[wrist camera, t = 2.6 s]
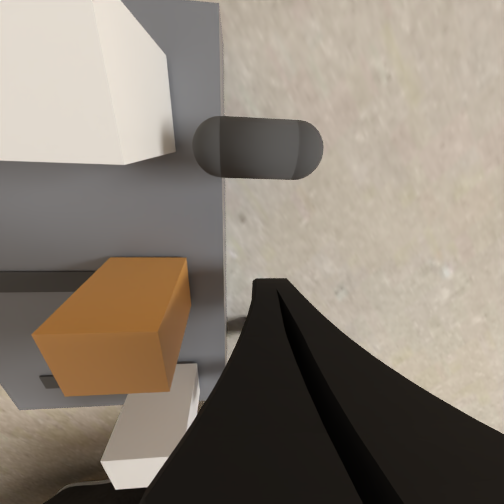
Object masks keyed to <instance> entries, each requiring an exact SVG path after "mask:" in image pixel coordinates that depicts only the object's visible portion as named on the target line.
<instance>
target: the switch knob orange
mask: <svg viewBox="0 0 504 504" xmlns="http://www.w3.org/2000/svg"><path fill="white" fill-rule="evenodd" d="M190 308H191V298H190V288H189V278H188V268H187V258H171V257H110V258H109V259H108V260H107V261H106V262H105V263H104V264H103V265H102V266H101V267H100V268H99V269H98V270H97V271H96V272H95V273H94V274H93V275H92V276H91V277H90V278H89V279H88V280H87V281H86V282H85V283H84V284H82V285H81V286H80V287H79V288H78V289H77V290H76V291H75V292H74V293H73V294H72V295H71V296H70V297H69V298H68V299H67V300H66V301H65V302H64V303H63V304H62V305H61V306H60V307H59V308H58V309H57V310H56V311H55V312H54V313H53V314H52V315H51V316H50V317H49V318H48V319H47V320H46V321H45V322H44V323H43V324H42V325H41V326H40V327H39V328H38V329H36V330H35V331H34V332H33V333H32V334H31V335H32V337H33V339H34V341H35V343H36V344H37V346H38V348H39V350H40V352H41V354H42V356H43V357H44V359H45V361H46V363H47V365H48V367H49V368H50V370H51V372H52V374H53V376H54V378H55V379H56V381H57V383H58V385H59V387H60V389H61V390H62V392H63V394H64V396H65V397H68V396H89V395H110V394H132V393H153V392H170V388H171V384H172V380H173V376H174V372H175V368H176V364H177V360H178V356H179V352H180V348H181V344H182V340H183V336H184V332H185V328H186V324H187V320H188V316H189V312H190Z"/></svg>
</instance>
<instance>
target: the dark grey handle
mask: <svg viewBox="0 0 504 504" xmlns="http://www.w3.org/2000/svg"><path fill="white" fill-rule="evenodd" d="M192 148H193V153H194V157H195V159H196V161H197V163H198V164H199V166H200V167H201V168H202V169H203V170H204V171H205V172H206V173H208V174H210V175H212V176H215V177H221V178H251V179H283V180H297V179H301V178H304V177H306V176H308V175H309V174H311V173H312V172H313V171H314V170H315V169H316V168H317V166H318V165H319V163H320V161H321V159H322V155H323V141H322V138H321V135H320V133H319V131H318V130H317V129H316V128H315V127H314V126H313V125H312V124H310V123H308V122H306V121H301V120H285V119H266V118H248V117H229V116H214V117H211V118H208V119H207V120H205V121H203V122H202V123H201V124H200V125H199V126H198V128H197V129H196V131H195V134H194V136H193V142H192Z"/></svg>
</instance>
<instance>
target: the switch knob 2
mask: <svg viewBox="0 0 504 504" xmlns="http://www.w3.org/2000/svg"><path fill="white" fill-rule="evenodd" d="M199 395H200V387H199V377H198V367H197V363H193V364H176V368H175V372H174V376H173V380H172V384H171V388H170V392H153V393H132V394H128V395H127V397H126V400H125V402H124V405H123V407H122V410H121V412H120V414H119V417H118V419H117V422H116V424H115V427H114V429H113V431H112V434H111V436H110V439H109V441H108V444H107V446H106V449H105V451H104V453H103V456H102V458H101V461H100V462H101V464H102V466H103V468H104V469H105V471H106V473H107V475H108V477H109V479H110V480H111V482H112V484H113V486H114V488H115V490H118V489H130V488H143V487H148V486H149V485H150V483H151V482H152V480H153V479H154V477H155V476H156V475H157V473H158V472H159V470H160V469H161V467H162V466H163V465H164V463H165V462H166V460H167V459H168V457H169V456H170V455H171V453H172V452H173V450H174V449H175V447H176V446H177V445H178V443H179V442H180V440H181V439H182V437H183V436H184V434H185V433H186V431H187V430H188V428H189V427H190V425H191V424H192V422H193V421H194V419H195V417H196V416H197V411H198V403H199Z"/></svg>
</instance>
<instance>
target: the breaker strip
mask: <svg viewBox="0 0 504 504" xmlns="http://www.w3.org/2000/svg"><path fill="white" fill-rule="evenodd" d="M121 1H122V3H123V4H124V5H125V6H126V7H127V9H128V10H129V11H130V12H131V14H132V15H133V16H134V17H135V18H136V20H137V21H138V22H139V23H140V24H141V26H142V27H143V28H144V29H145V30H146V32H147V33H148V34H149V35H150V37H151V38H152V39H153V40H154V41H155V43H156V44H157V45H158V46H159V47H160V49H161V50H162V51H163V52H164V54H165V55H166V59H167V69H168V79H169V89H170V98H171V108H172V118H173V128H174V138H175V148H176V152H173V153H169V154H165V155H161V156H157V157H153V158H150V159H146V160H142V161H138V162H134V163H130V164H126V165H113V164H84V163H55V162H27V161H0V384H1V386H2V387H3V388H4V390H5V391H6V392H7V394H8V395H9V397H10V398H11V399H12V401H13V402H14V403H15V405H16V406H17V408H18V409H19V410H31V409H51V408H71V407H91V406H110V405H124V402H125V400H126V397H127V395H128V394H110V395H89V396H68V397H65V396H64V394H63V392H62V390H61V389H60V387H59V385H58V383H57V381H56V379H55V378H54V376H53V374H52V372H51V370H50V368H49V367H48V365H47V363H46V361H45V359H44V357H43V356H42V354H41V352H40V350H39V348H38V346H37V344H36V343H35V341H34V339H33V337H32V335H31V334H32V333H33V332H34V331H35V330H36V329H38V328H39V327H40V326H41V325H42V324H43V323H44V322H45V321H46V320H47V319H48V318H49V317H50V316H51V315H52V314H53V313H54V312H55V311H56V310H57V309H58V308H59V307H60V306H61V305H62V304H63V303H64V302H65V301H66V300H67V299H68V298H69V297H70V296H71V295H72V294H73V293H74V292H75V291H76V290H77V289H78V288H79V287H80V286H81V285H82V284H84V283H85V282H86V281H87V280H88V279H89V278H90V277H91V276H92V275H93V274H94V273H95V272H96V271H97V270H98V269H99V268H100V267H101V266H102V265H103V264H104V263H105V262H106V261H107V260H108V259H109V258H110V257H171V258H187V268H188V278H189V288H190V298H191V308H190V312H189V316H188V320H187V324H186V328H185V332H184V336H183V340H182V344H181V348H180V352H179V356H178V360H177V364H193V363H197V367H198V377H199V387H200V395H199V401H206V400H207V398H208V396H209V395H210V393H211V392H212V390H213V388H214V386H215V385H216V383H217V381H218V379H219V378H220V376H221V374H222V372H223V370H224V368H225V366H226V364H227V316H226V233H225V178H221V177H215V176H212V175H210V174H208V173H206V172H205V171H204V170H203V169H202V168H201V167H200V166H199V164H198V163H197V161H196V159H195V157H194V153H193V148H192V142H193V136H194V134H195V131H196V129H197V128H198V126H199V125H200V124H201V123H202V122H203V121H205V120H207V119H208V118H211V117H214V116H224V67H223V37H222V28H221V18H220V9H219V3H211V2H200V1H190V0H121Z"/></svg>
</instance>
